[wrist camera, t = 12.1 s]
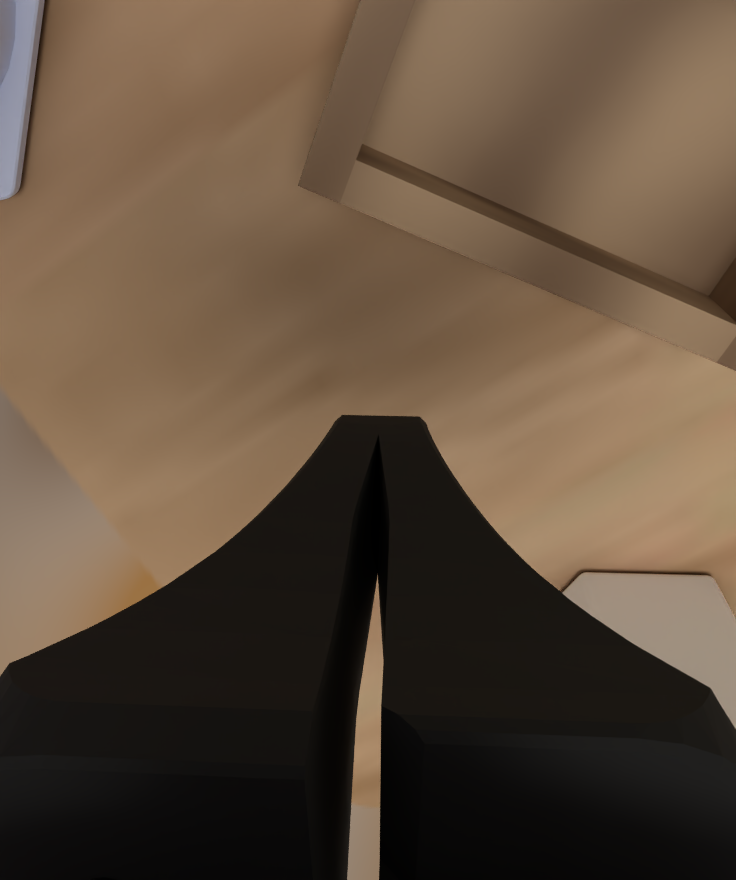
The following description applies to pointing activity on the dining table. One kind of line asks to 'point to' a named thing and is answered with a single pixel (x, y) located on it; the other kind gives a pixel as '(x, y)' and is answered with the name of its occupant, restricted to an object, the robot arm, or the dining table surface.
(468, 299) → the dining table surface
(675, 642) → the jar
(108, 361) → the dining table surface
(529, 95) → the brown wooden tray
